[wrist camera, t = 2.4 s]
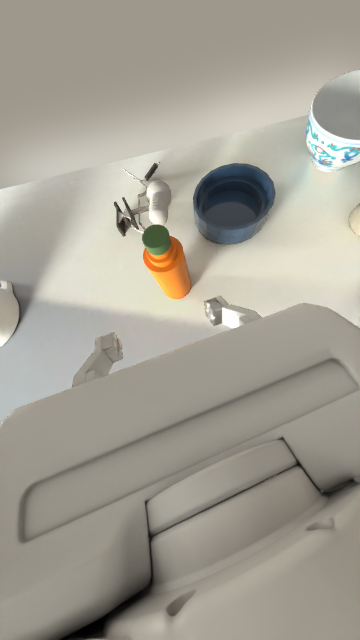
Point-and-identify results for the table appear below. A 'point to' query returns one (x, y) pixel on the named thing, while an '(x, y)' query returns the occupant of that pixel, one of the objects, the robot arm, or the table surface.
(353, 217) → the travel mug
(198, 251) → the table surface
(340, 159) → the chinaware
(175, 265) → the juice bottle
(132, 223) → the clip-on lamp
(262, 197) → the bowl
